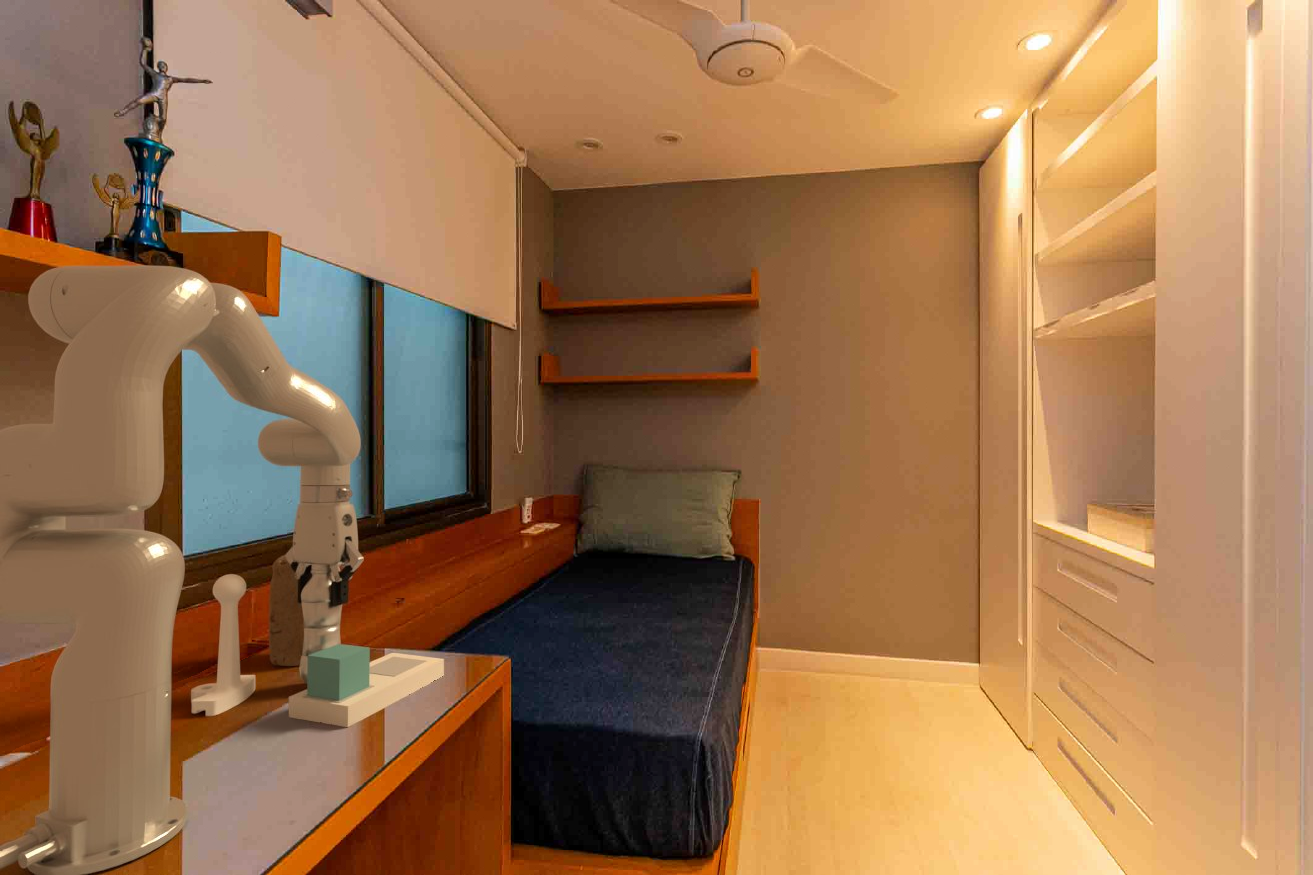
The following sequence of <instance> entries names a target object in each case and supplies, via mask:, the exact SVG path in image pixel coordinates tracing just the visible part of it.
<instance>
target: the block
mask: <svg viewBox="0 0 1313 875" xmlns="http://www.w3.org/2000/svg"><path fill="white" fill-rule="evenodd" d="M285 555H286V554H284V555H281V556H280V557H277V559H275V561H274V562H273V563H272V565H271V568H272V577H271V580H270V585H269V591H270V592H269V602H268V611H269V612H268V646H269V647H268V650H269V661H270V663H271V664H273V665H275V666H280V667H297V666H298V667H299V666H300V660H301V656H302V652H303V642H304V628H305V627H304V617H303V610H302V603H298V579H296V578H295V572H294V571H293V569H292V568H291V564H290V563H289V562H288V560H287V559H286V557H285ZM307 567H308V566H307Z"/></svg>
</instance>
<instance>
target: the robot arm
mask: <svg viewBox="0 0 1313 875" xmlns="http://www.w3.org/2000/svg"><path fill="white" fill-rule="evenodd" d="M27 296H28V299H27V301H28V302H27V303H28V307H29V311H30V314H31V316H32V318H33V320H34V321H35V322H36V323H37V325H38V326H39V327H40V328H41V329H42V330H43V331H44V332H45V333H46V334H47V335H49V336H51V337H53V338H54V339H56V340H59V341H60V342H63V343H66V344H68V345H67V346H66V348H65V349H64V351H63V353H62V354H61V357H60V358H59V361H58V364H57V367H56V370H55V375H54V376H55V378H54V396H53V397H54V399H53V419H52V423H26V424H25V423H24V424H23V423H22V424H18V425H17V424H16V425H12V426H7V427H5V428H1V429H0V622H3V623H6V624H20V625H21V624H23V625H25V624H28V625H30V624H31V625H33V624H35V625H36V624H37V625H42V624H44V625H52V624H54V625H56V624H59V625H60V624H61V625H70V626H71V625H72V626H73V625H74V626H75V625H76V629H75V632H74V633H73V636H72V637H71V639H70V640H69V642H68V643H67V644H66V645H65V647H64V648H63V650H62V652H61V653H60V655H59V657H58V658H57V660H56V662H55V664H54V667H53V670H52V674H51V678H50V695H49V696H50V718H49V719H50V723H49V724H50V728H49V731H50V732H49V738H50V739H49V784H48V785H49V788H48V789H49V793H48V794H49V795H48V797H49V798H48V802H49V803H48V805H49V806H48V810H45V811H42V812H41V813H38V814H36V815H35V822H34V824H35V825H34V827H31V828H28V829H27V830H26V831H25V832H24V835H23V836H20V837H19V838H17V839H15V840H14V839H13V840H10V841H8V842H6V843H5V842H4V843H3V844H1V845H0V870H2V869H3V868H5V867H8V866H10V865H12V864H14V863H16V862H18V866H19V867H20V868H22V869H27V871H29V872H30V873H32V874H34V875H89V874H93V873H97V872H101V871H105V870H106V871H107V870H109V869H112V868H115V867H119V866H122V865H123V864H125V863H128V862H131V861H134V860H136V859H138V858H140V857H143V856H145V855H148V854H149V853H150V852H153V851H154V850H156V849H157V848H159V847H161V846H163V845H164V844H166V843H167V842H168V841H170V840H171V839H173V837H175V836H176V835H177V834H178V833H179V832H180V831H181V830H182V829H183V828H184V826H185V825H186V823H187V822H188V821H187V820H188V814H189V813H188V810H189V809H188V806H187V803H186V802H185V801H184V800H183V799H180V798H178V797H175V796H171V747H172V746H171V745H172V744H171V743H172V741H171V740H172V737H171V736H172V734H171V732H172V730H171V728H172V725H171V724H172V721H171V720H172V661H173V660H172V656H173V655H172V653H173V652H172V651H173V639H174V637H173V636H174V628H175V627H174V626H175V622H176V621H175V620H176V614H177V610H178V609H177V608H178V605H179V600H180V597H181V592H182V589H183V584H184V580H185V570H186V569H185V568H186V564H185V563H186V562H185V557H184V555H183V553H182V551H181V549H180V547H179V546H178V545H177V544H176V543H175V542H174V541H173V540H171V539H170V538H168V537H167V536H165V535H163V534H160V533H157V532H153V531H149V530H143V529H136V528H135V529H134V528H133V529H132V528H81V529H73V528H72V529H69V528H68V529H66V527H67V526H66V524H67V523H66V522H67V521H66V518H69V517H70V518H95V517H97V518H98V517H99V518H101V517H120V516H121V517H123V516H131V515H134V514H139V513H141V512H143V511H145V510H148V509H150V508H151V507H152V506H153V505H154V504H155V503H156V502H157V501H158V500H159V498H160V496H161V494H162V490H163V487H164V486H163V485H164V480H165V479H164V477H165V451H164V449H165V448H164V447H165V446H164V413H163V412H164V411H163V402H164V401H163V399H164V384H165V380H166V375H167V373H168V371H169V368H170V367H171V365H172V363H173V362H174V360H175V359H176V358H177V356H179V354H180V353H181V352H182V351H183V350H186V351H187V350H188V351H193V352H195V353H197V354H198V355H199V357H200V358H201V359H202V360H203V362H204V363H205V365H206V366H207V367H208V368H209V369H210V371H211V372H212V375H214V376H215V378H216V380H218V382H219V383H220V384H221V385H222V387H223V388H224V390H225V391H226V392H227V394H228V395H229V396H230V397H231V398H232V399H234V400H235V401H237V402H239V403H241V404H243V405H246V406H249V407H252V408H255V409H258V410H261V411H263V412H268V413H272V414H276V415H279V416H283V417H286V418H282V419H277V420H274V421H271V422H269V423H267V424H265V425H264V426H263V428H262V429H261V431H260V433H259V435H258V439H257V448H258V451H259V453H260V455H261V456H262V458H263V459H265V461H267V462H269V463H270V464H272V465H275V466H281V467H300V488H299V504H298V506H297V510H296V514H295V519H294V524H293V526H294V527H293V537H292V545H291V547H290V549H289V550H288V551H287V552H286V554H284V555H285V557H286V559H287V560H288V562H289V563H290V564H291V568H292V569H293V571H294V572H295V578H296V579H298V603H302V601H301V593H302V590H303V588H304V587H305V585H306V584H307V582H308V581H309V580H310V579H311V577H312V575H313V574H312V573H311V568H312V563H318V564H322V565H330V567H331V570H332V574H333V577H334V580H335V581H334V582H331V606H338V605H342V604H343V605H346V604H348V603H349V594H350V592H349V589H350V588H349V586H350V584H349V583H350V582H349V581H350V580H352V578H353V575H354V574H355V573H356V571H357V570H358V568H359V567H360V566H361V564H362V563H363V562H364V560H365V559H364V556H363V555H362V554H361V553H360V551H359V535H358V534H359V533H358V522H357V516H356V510H355V506H354V504H353V503H352V504H351V502H350V501H351V500H350V499H351V498H352V497H353V495H354V494H353V490H352V489H351V463H353V462H354V461H355V460H356V459H357V458H358V456H359V454H360V450H361V444H362V443H361V442H362V440H361V436H360V432H359V431H360V430H359V428H358V426H357V423H356V421H355V419H354V417H353V415H352V414H351V411H350V410H349V408H348V406H347V405H346V403H345V402H344V400H343V399H342V398H341V397H340V396H339V395H338V394H337V393H336V392H334V391H333V390H332V389H331V388H329V387H327V386H326V385H324V384H323V383H320V382H319V381H317V379H315V378H313V377H311V375H308V374H306V373H305V372H303V371H300V370H299V369H297V368H295V367H294V366H291V365H290V364H289V362H287V360H286V358H285V357H284V355H283V353H282V351H281V350H280V348H279V347H278V344H277V343H276V342H275V340H274V339H273V336H272V335H271V334H270V332H269V331H268V329H267V327H266V325H265V324H264V322H263V320H262V319H261V317H260V315H259V313H258V312H257V311H256V309H255V307H254V306H253V304H252V303H251V301H250V300H249V298H248V297H247V296H246V294H244V293H243V292H242V291H241V290H239V289H238V288H236V287H233V286H232V285H228V284H223V283H218V282H210V281H209V280H208V279H207V278H206V277H204V276H203V274H200V273H199V272H196V271H195V270H191V269H188V268H184V267H183V268H182V267H178V266H171V265H170V266H168V265H144V264H143V265H140V264H139V265H138V264H137V265H64V266H57V267H54V268H50V269H48V270H45V271H44V272H43V273H41V274H40V275H39V276H38V277H36V278H35V279H34V281H33V282H32V284H31V286H30V288H29V291H28V295H27ZM307 566H308V567H307ZM340 567H341V568H340ZM343 605H342V606H343Z"/></svg>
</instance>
